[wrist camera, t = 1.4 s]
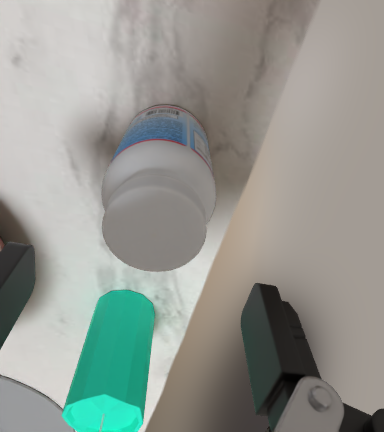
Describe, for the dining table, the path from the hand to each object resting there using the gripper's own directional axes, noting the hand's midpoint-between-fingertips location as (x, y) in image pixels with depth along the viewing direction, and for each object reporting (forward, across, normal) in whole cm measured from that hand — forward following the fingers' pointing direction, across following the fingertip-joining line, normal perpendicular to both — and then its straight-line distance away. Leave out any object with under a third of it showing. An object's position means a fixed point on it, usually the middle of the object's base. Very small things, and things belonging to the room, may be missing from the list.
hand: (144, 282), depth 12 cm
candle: (+14, +1, +18) cm, 23 cm away
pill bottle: (+14, 0, 0) cm, 14 cm away
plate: (+15, +19, +45) cm, 51 cm away
